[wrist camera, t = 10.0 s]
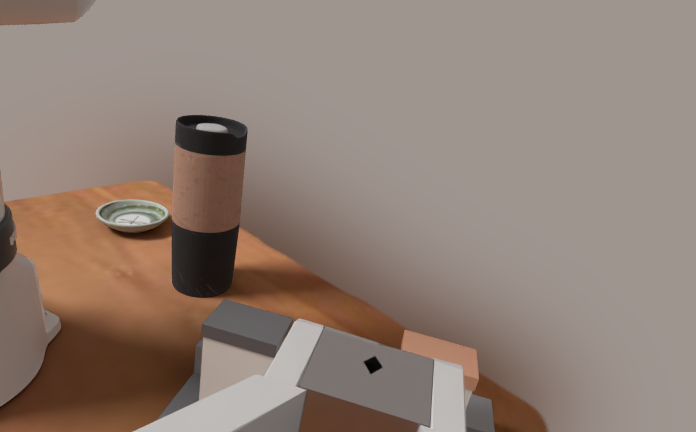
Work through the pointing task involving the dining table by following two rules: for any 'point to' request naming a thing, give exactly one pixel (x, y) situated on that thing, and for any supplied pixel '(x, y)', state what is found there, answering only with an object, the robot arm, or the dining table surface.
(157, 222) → the saucer
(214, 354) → the charcoal key
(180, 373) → the dining table surface
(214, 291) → the travel mug
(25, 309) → the robot arm
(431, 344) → the terracotta key
